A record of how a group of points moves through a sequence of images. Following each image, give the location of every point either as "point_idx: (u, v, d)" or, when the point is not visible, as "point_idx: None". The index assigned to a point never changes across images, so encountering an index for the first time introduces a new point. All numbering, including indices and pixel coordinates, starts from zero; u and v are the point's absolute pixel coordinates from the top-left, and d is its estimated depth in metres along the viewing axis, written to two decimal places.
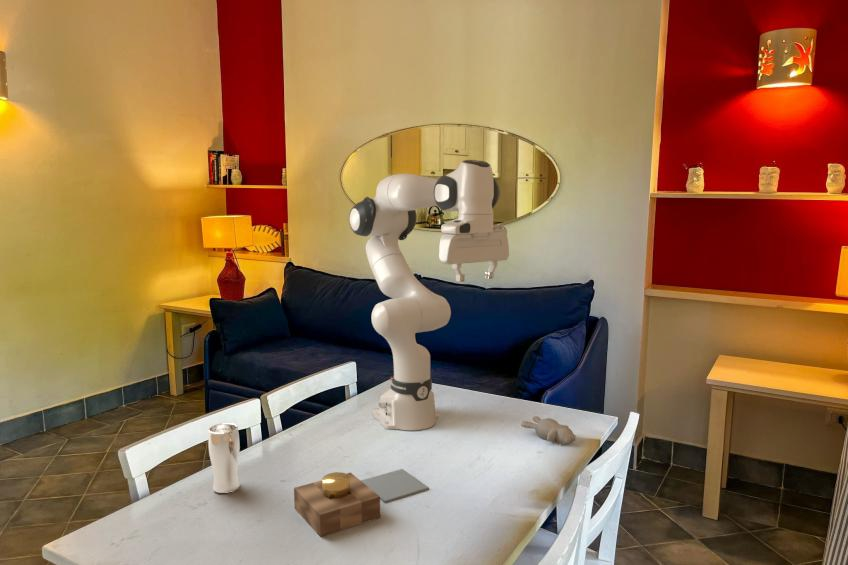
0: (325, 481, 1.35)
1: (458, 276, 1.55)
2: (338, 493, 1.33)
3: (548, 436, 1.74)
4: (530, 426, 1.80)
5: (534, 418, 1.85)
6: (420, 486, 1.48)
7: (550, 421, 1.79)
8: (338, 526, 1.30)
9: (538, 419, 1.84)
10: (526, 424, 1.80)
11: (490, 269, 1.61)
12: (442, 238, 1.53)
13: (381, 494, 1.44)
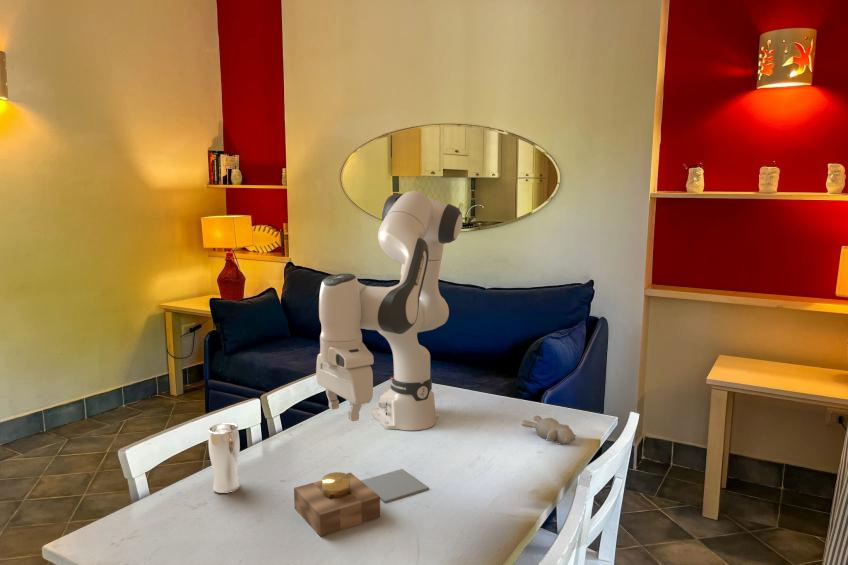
0: (325, 481, 1.35)
1: (356, 414, 1.29)
2: (338, 493, 1.33)
3: (548, 435, 1.74)
4: (530, 425, 1.81)
5: (534, 418, 1.85)
6: (420, 486, 1.48)
7: (550, 421, 1.79)
8: (338, 526, 1.30)
9: (539, 418, 1.85)
10: (526, 423, 1.81)
11: (333, 397, 1.38)
12: (356, 375, 1.24)
13: (381, 494, 1.44)
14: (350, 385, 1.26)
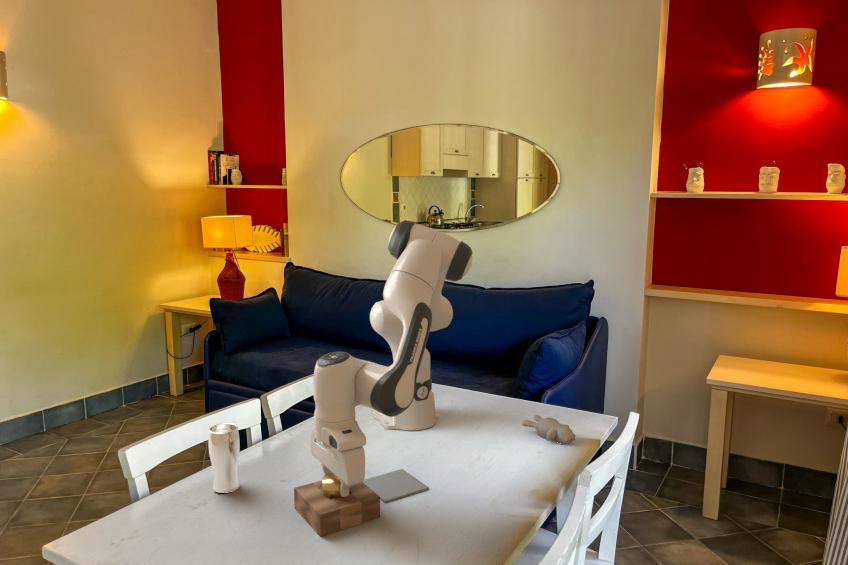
0: (325, 481, 1.35)
1: (346, 490, 1.33)
2: (338, 493, 1.33)
3: (548, 435, 1.74)
4: (530, 425, 1.81)
5: (535, 417, 1.85)
6: (420, 486, 1.48)
7: (550, 420, 1.79)
8: (338, 526, 1.30)
9: (539, 418, 1.85)
10: (527, 423, 1.81)
11: (328, 471, 1.39)
12: (349, 457, 1.26)
13: (381, 494, 1.44)
14: (343, 466, 1.28)
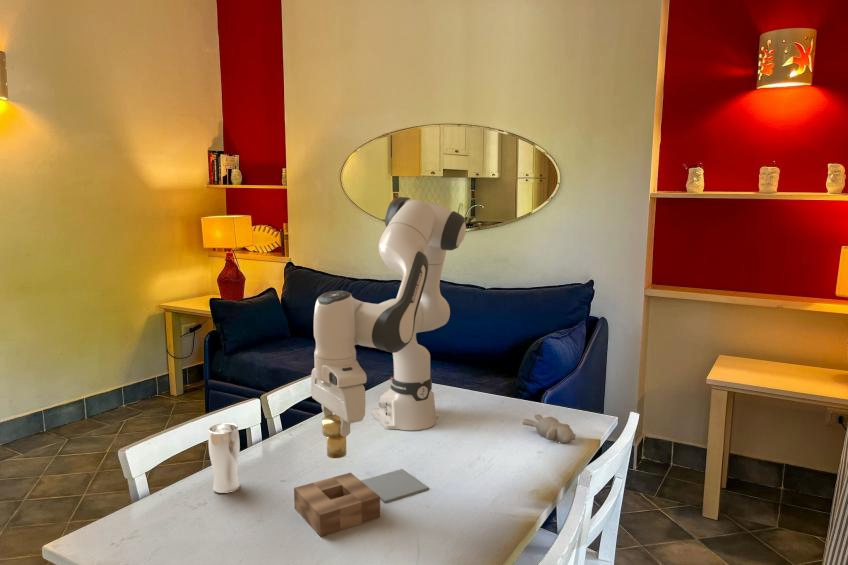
0: (325, 421, 1.33)
1: (346, 429, 1.32)
2: (338, 433, 1.32)
3: (547, 434, 1.75)
4: (531, 424, 1.82)
5: (536, 417, 1.86)
6: (420, 486, 1.48)
7: (551, 419, 1.80)
8: (338, 526, 1.30)
9: (540, 417, 1.85)
10: (527, 422, 1.82)
11: (328, 413, 1.38)
12: (349, 394, 1.25)
13: (381, 494, 1.44)
14: (343, 403, 1.27)
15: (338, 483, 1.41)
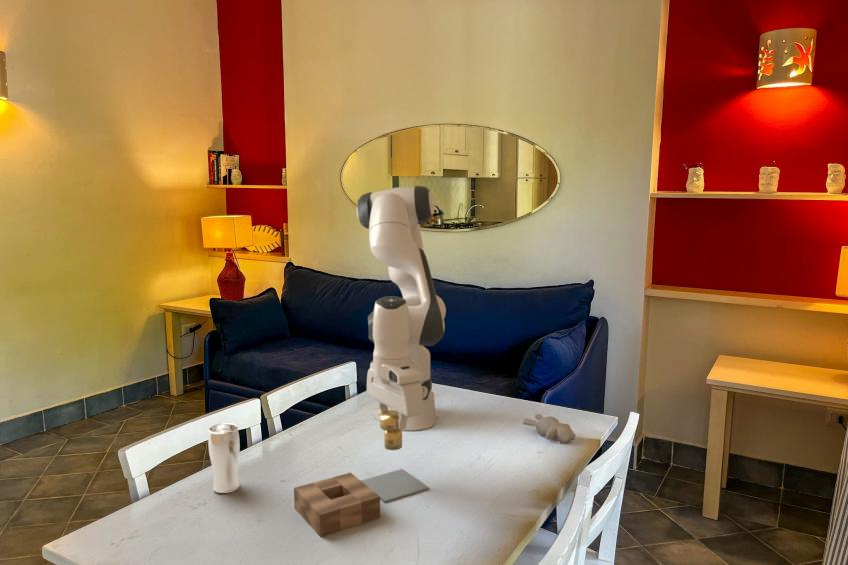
0: (383, 416, 1.46)
1: (403, 423, 1.44)
2: None
3: (547, 434, 1.75)
4: (531, 424, 1.82)
5: (536, 416, 1.86)
6: (420, 486, 1.48)
7: (551, 419, 1.80)
8: (338, 526, 1.30)
9: (540, 417, 1.86)
10: (527, 421, 1.82)
11: (384, 409, 1.50)
12: (408, 390, 1.38)
13: (381, 494, 1.44)
14: (402, 399, 1.39)
15: (338, 483, 1.41)
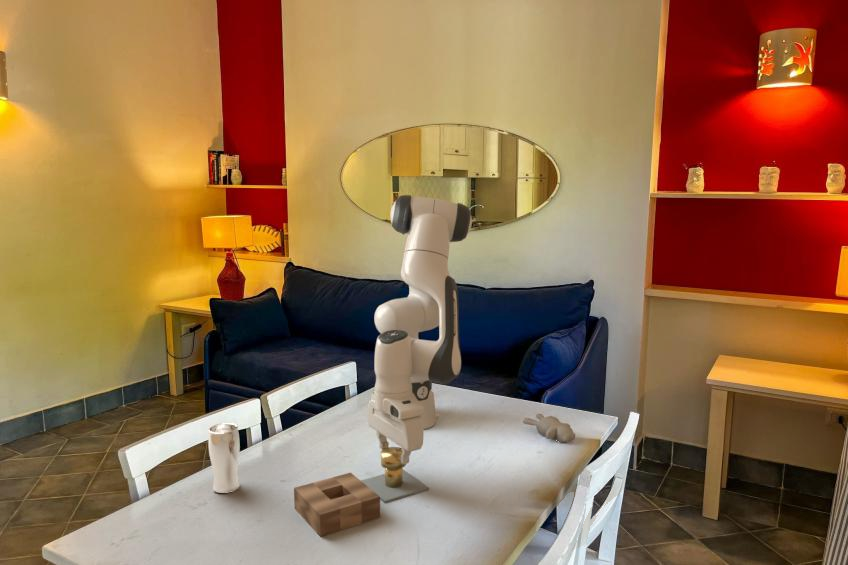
0: (384, 454, 1.47)
1: (406, 458, 1.44)
2: (396, 465, 1.46)
3: (547, 433, 1.76)
4: (532, 423, 1.82)
5: (537, 416, 1.87)
6: (420, 486, 1.48)
7: (551, 419, 1.81)
8: (338, 526, 1.30)
9: (541, 417, 1.86)
10: (528, 421, 1.83)
11: (383, 439, 1.53)
12: (409, 425, 1.39)
13: (381, 494, 1.44)
14: (403, 433, 1.40)
15: (338, 483, 1.41)
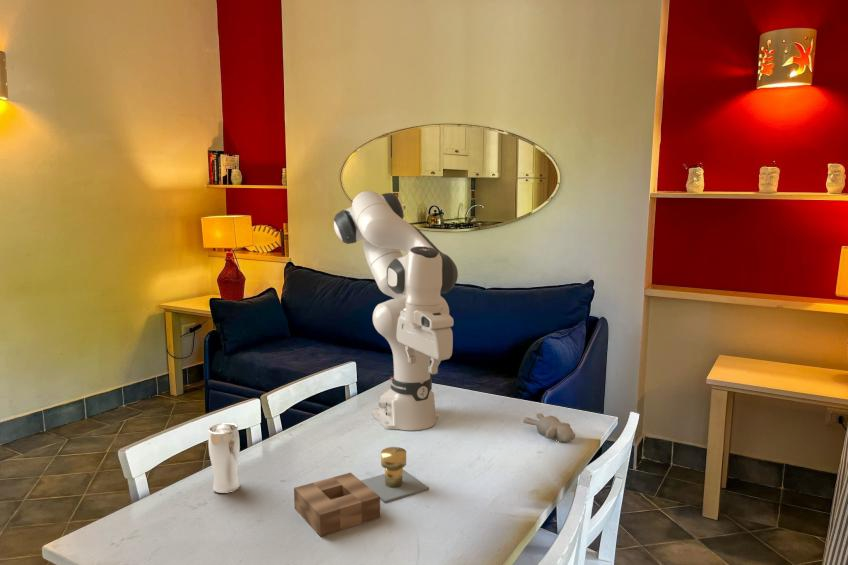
0: (384, 454, 1.47)
1: (435, 368, 1.50)
2: (396, 465, 1.46)
3: (547, 433, 1.76)
4: (532, 423, 1.83)
5: (537, 415, 1.87)
6: (420, 486, 1.48)
7: (551, 418, 1.81)
8: (338, 526, 1.30)
9: (541, 416, 1.86)
10: (528, 420, 1.83)
11: (411, 353, 1.59)
12: (439, 334, 1.45)
13: (381, 494, 1.44)
14: (433, 343, 1.47)
15: (338, 483, 1.41)
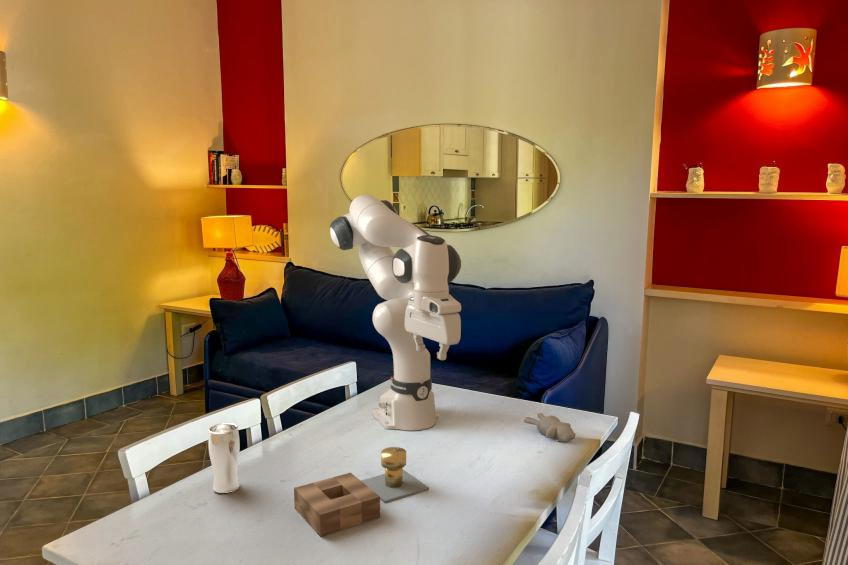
0: (384, 454, 1.47)
1: (444, 354, 1.53)
2: (396, 465, 1.46)
3: (547, 432, 1.76)
4: (532, 422, 1.83)
5: (538, 415, 1.87)
6: (420, 486, 1.48)
7: (552, 418, 1.81)
8: (338, 526, 1.30)
9: (542, 416, 1.87)
10: (528, 420, 1.84)
11: (420, 342, 1.61)
12: (448, 319, 1.47)
13: (381, 494, 1.44)
14: (441, 328, 1.49)
15: (338, 483, 1.41)
